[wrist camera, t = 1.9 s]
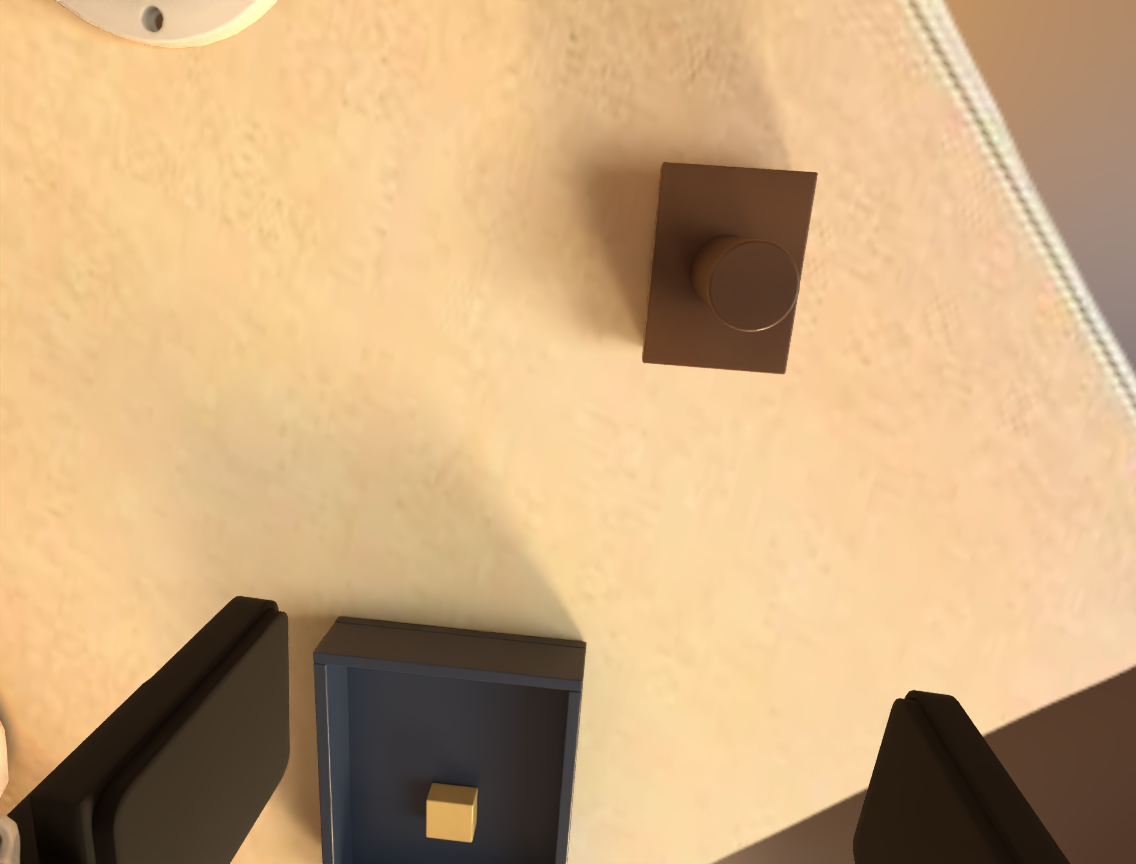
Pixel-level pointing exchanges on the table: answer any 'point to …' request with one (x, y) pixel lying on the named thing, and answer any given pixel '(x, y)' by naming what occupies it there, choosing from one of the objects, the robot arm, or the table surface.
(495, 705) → the tray
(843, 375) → the table surface
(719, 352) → the peg on plate
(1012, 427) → the table surface
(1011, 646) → the table surface
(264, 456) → the table surface
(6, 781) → the white vase
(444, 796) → the tan square block
